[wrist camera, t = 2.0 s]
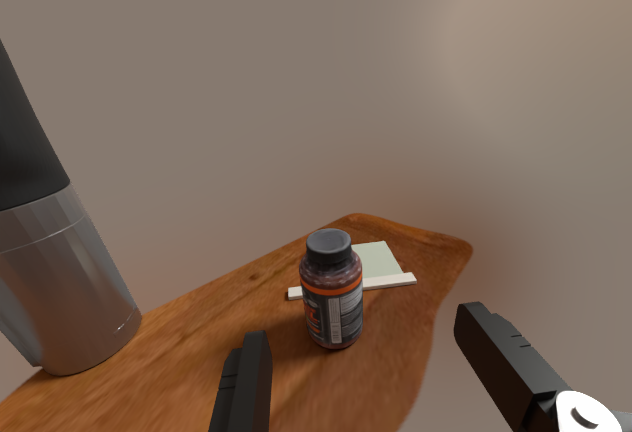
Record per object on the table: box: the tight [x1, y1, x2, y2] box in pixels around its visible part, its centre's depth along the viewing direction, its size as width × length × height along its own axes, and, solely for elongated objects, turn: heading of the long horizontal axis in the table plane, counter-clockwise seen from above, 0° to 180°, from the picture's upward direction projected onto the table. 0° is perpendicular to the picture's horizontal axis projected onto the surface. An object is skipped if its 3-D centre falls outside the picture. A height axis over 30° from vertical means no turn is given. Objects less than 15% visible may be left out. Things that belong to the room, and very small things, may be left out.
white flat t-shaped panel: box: [288, 241, 417, 300], centre depth 38 cm, size 16×10×1 cm, turn 95°
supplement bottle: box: [299, 228, 363, 349], centre depth 26 cm, size 6×6×11 cm
